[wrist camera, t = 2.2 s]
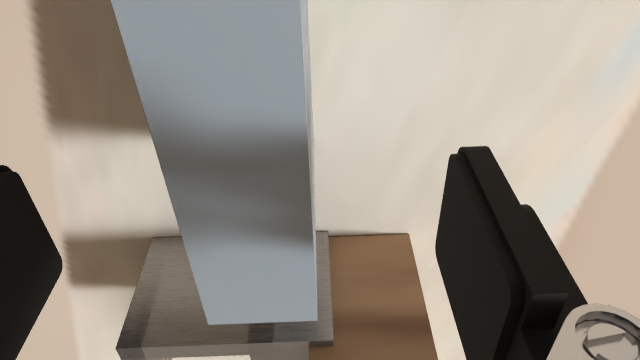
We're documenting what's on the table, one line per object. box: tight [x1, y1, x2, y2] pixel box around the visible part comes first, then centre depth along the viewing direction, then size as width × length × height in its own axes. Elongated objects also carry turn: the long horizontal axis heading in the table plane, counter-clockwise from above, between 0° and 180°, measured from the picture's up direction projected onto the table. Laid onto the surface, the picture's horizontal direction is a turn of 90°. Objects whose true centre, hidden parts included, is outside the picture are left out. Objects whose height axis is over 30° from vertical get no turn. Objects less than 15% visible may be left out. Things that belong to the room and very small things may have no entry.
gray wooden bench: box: [116, 231, 334, 360], centre depth 23 cm, size 4×9×6 cm, turn 92°
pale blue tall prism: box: [111, 0, 318, 325], centre depth 14 cm, size 10×4×9 cm, turn 2°
